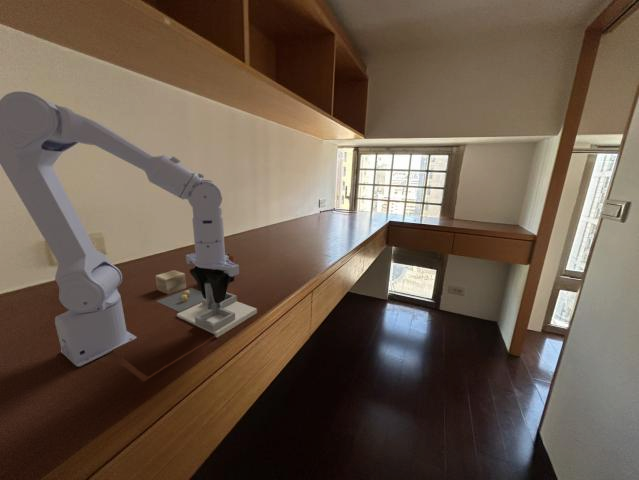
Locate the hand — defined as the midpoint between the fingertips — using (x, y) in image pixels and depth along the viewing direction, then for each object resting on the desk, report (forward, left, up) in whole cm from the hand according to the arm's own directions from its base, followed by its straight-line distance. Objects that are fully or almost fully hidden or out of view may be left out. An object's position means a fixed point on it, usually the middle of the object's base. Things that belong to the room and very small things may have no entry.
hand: (214, 299), depth 56 cm
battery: (+18, +19, -7) cm, 27 cm away
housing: (+5, +26, -7) cm, 27 cm away
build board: (+3, +3, -7) cm, 8 cm away
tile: (+4, +17, -7) cm, 18 cm away
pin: (0, 0, -2) cm, 2 cm away
